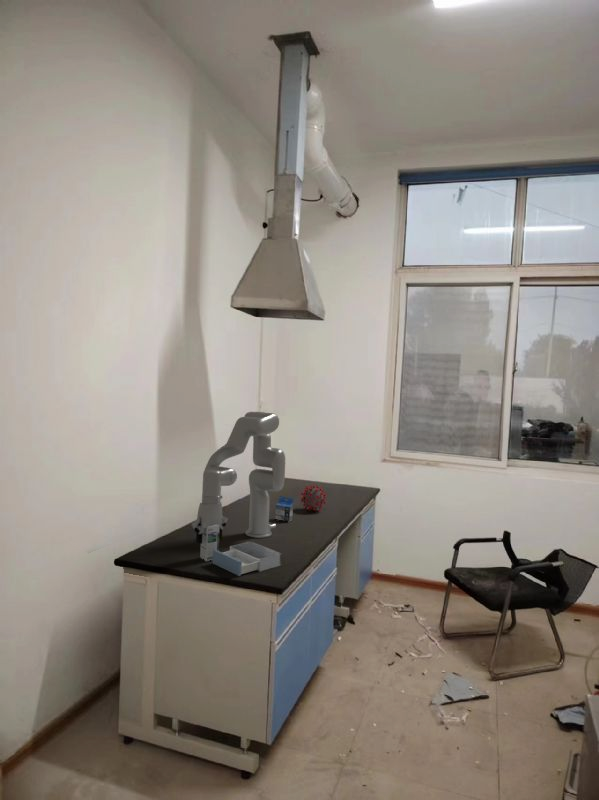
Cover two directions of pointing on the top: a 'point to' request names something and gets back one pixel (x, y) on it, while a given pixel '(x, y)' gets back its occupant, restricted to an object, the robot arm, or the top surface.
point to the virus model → (313, 498)
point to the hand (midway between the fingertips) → (209, 540)
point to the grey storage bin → (260, 554)
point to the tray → (235, 561)
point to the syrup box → (209, 542)
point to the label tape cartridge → (284, 509)
